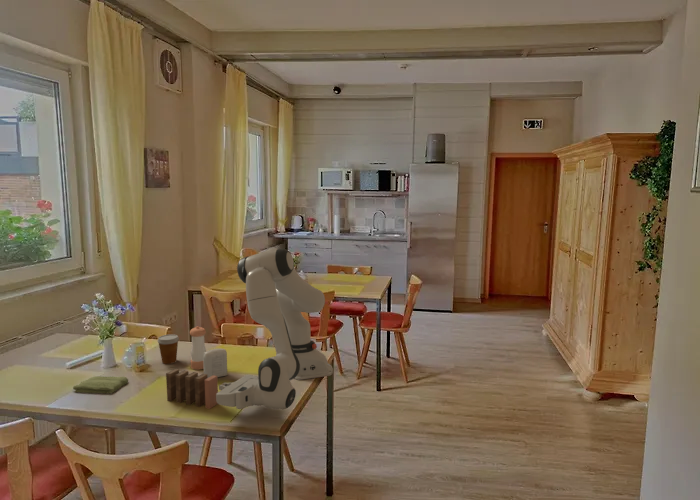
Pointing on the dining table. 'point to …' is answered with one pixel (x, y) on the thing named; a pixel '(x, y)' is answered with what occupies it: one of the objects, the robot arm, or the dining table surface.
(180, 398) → the walnut domino
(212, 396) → the terracotta domino
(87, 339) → the dining table surface
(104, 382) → the washcloth
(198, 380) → the walnut domino
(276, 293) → the robot arm
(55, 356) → the dining table surface
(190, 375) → the walnut domino
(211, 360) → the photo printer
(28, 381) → the dining table surface
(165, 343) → the disposable coffee cup
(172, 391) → the walnut domino
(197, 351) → the pepper shaker
